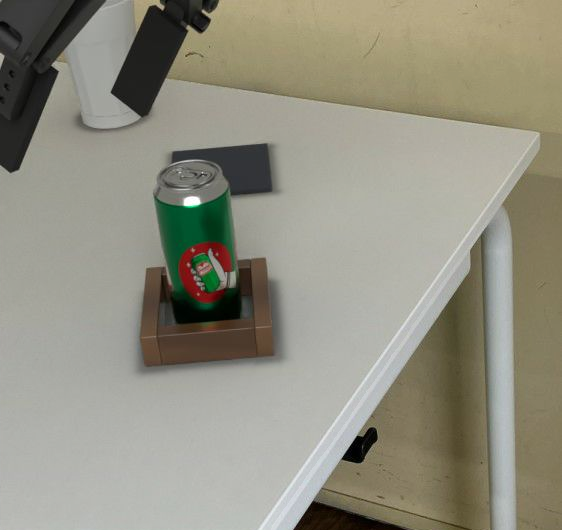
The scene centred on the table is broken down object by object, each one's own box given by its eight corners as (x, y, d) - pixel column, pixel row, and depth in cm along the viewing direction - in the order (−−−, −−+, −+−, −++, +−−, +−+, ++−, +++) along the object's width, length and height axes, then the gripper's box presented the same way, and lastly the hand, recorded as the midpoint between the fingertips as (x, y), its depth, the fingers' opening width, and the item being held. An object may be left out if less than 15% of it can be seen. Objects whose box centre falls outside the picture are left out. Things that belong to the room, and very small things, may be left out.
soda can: (193, 299, 76) (171, 153, 68) (255, 310, 74) (239, 160, 67) (163, 338, 72) (136, 187, 65) (227, 349, 71) (208, 196, 63)
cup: (119, 137, 99) (96, 15, 92) (58, 124, 103) (32, 5, 96) (167, 106, 105) (149, -11, 97) (107, 95, 108) (86, -20, 101)
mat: (173, 155, 96) (172, 151, 95) (267, 146, 96) (267, 142, 95) (170, 200, 89) (169, 196, 88) (272, 191, 89) (271, 187, 88)
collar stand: (151, 295, 77) (146, 267, 75) (268, 284, 77) (266, 256, 75) (145, 367, 70) (139, 337, 68) (274, 355, 70) (271, 326, 68)
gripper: (145, -187, 38) (-20, 230, 50) (372, -178, 58) (213, 119, 70) (-6, -301, 38) (-133, 140, 51) (270, -254, 58) (131, 54, 71)
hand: (68, 128), depth 61 cm, fingers open, 13 cm apart
